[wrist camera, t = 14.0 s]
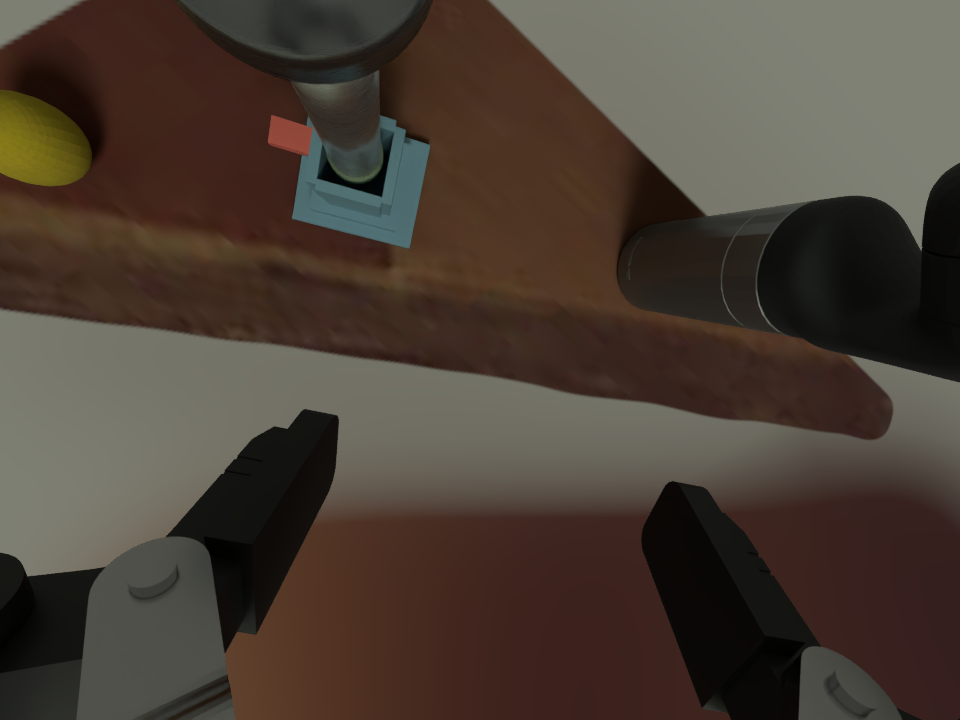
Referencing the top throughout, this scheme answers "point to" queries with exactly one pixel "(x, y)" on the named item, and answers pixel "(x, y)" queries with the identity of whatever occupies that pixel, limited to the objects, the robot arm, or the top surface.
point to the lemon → (40, 142)
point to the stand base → (349, 210)
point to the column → (322, 62)
